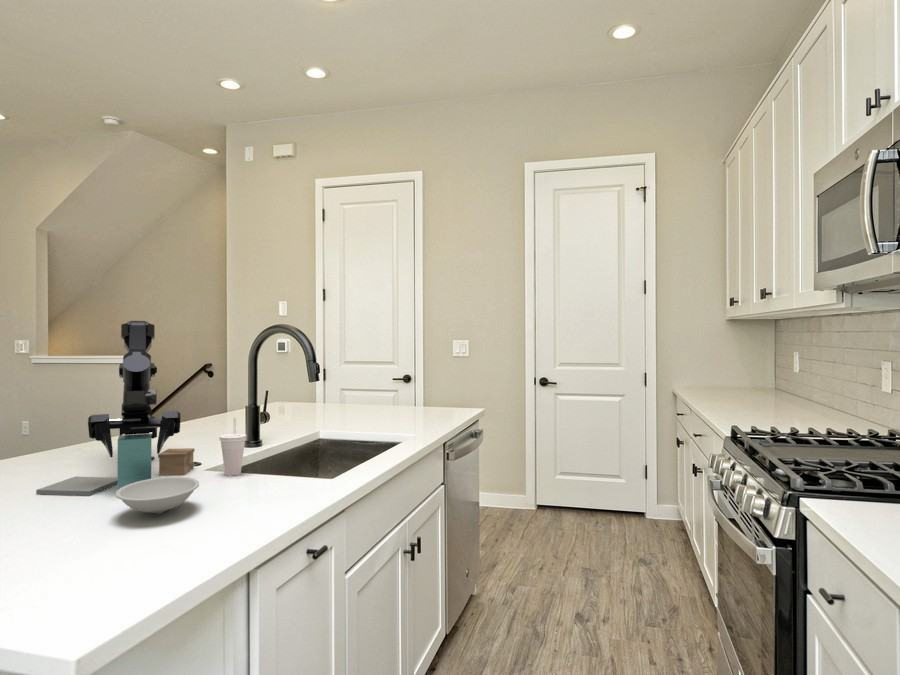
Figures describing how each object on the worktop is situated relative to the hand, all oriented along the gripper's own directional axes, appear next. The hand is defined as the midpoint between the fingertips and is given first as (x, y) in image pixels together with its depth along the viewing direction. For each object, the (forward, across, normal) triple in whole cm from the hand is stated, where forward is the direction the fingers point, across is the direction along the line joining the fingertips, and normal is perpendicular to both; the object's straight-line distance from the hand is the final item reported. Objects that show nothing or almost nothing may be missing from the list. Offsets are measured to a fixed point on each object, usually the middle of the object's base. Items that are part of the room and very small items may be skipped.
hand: (135, 454), depth 132 cm
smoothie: (+1, +22, +11) cm, 24 cm away
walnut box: (-5, +9, +17) cm, 20 cm away
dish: (+20, +5, -8) cm, 22 cm away
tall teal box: (+6, 0, +6) cm, 8 cm away
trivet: (0, -11, +11) cm, 15 cm away
